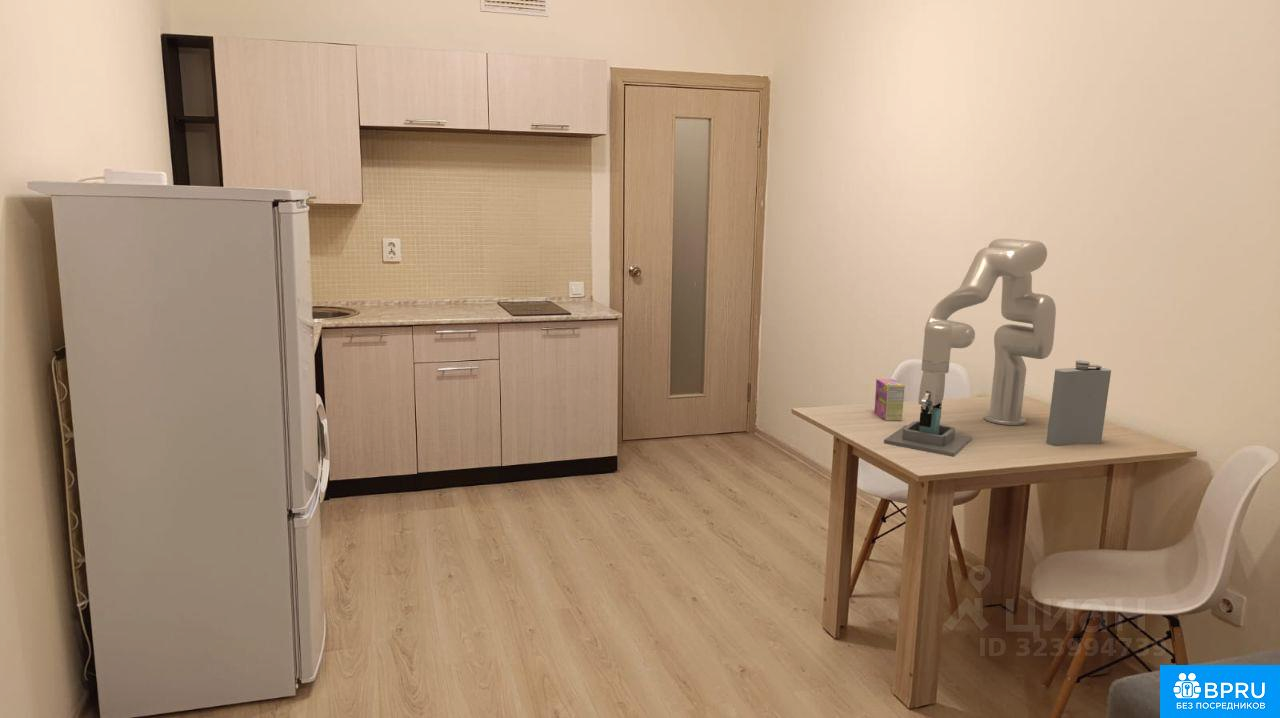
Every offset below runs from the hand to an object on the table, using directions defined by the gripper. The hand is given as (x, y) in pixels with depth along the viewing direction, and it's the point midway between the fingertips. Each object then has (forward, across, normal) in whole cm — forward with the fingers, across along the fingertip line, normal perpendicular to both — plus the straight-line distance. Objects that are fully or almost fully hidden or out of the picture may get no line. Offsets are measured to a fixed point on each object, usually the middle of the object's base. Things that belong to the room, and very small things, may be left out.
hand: (929, 422), depth 248 cm
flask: (+6, -27, +35) cm, 45 cm away
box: (+6, -20, -19) cm, 28 cm away
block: (+5, 0, 0) cm, 5 cm away
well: (+6, 0, 0) cm, 6 cm away
